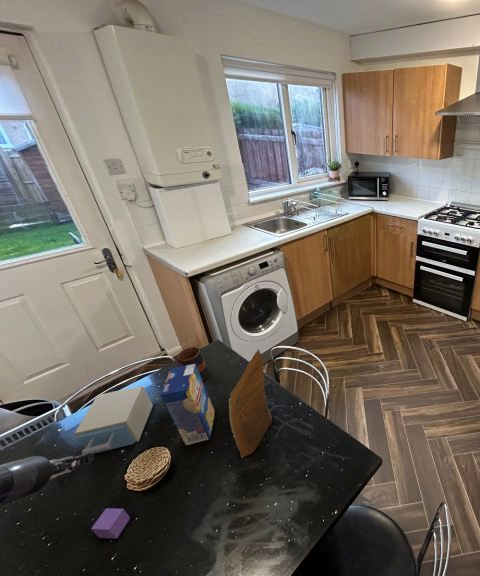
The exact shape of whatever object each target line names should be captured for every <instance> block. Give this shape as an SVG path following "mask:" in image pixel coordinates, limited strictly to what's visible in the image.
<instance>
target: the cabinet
mask: <svg viewBox="0 0 480 576" xmlns="http://www.w3.org/2000/svg"><path fill="white" fill-rule="evenodd" d="M153 406H154V405H153V403H152V401H151V399H150V397H149V396H148V393H147V392H146V390H145V388H144V386H143V385H139V386H135V387H134V386H133V387H130V388H124V389H120V390H115V391H110V392H105V393H101V394H96V397H95V398H94V400H93V402H92V403H91V405H90V407H89V408H88V410H87V412H86V413H85V415H84V416H83V418H82V420H81V422H80V423H79V425H78V426H77V428H76V430H75V432H74V435H75V436H76V437H77V436H78V435H79V434H84V433H86V432H90V431H95V430H99V429H103V428H108V427H112V426H116V425H120V424H125V425H126V427H127V428H128V430H129V431H130V433H131V435H132V436H133V438H134V439H135V442H134V444H136V443H139V441H140V440H141V436H142V434H143V431H144V429H145V426H146V424H147V422H148V419H149V416H150V414H151V411H152V409H153Z"/></svg>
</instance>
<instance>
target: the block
mask: <svg viewBox="0 0 480 576" xmlns="http://www.w3.org/2000/svg"><path fill="white" fill-rule="evenodd" d="M130 519H131V517H130V515H129V514H128V513H127V512H126V510H125V509H124V508H109V507H108V508H105V509H104V510H103V512H102V513H101V514H100V516H99V517H98V519H97V520H96V521H95V522H94V524H93V525H92V526H91V528H90V530H91V531H92V532H93V533H94V534H95V535H96V536H97V538H99V539H118V538H119V536H120V535H121V533H122V532H123V530H124V529H125V527H126V525H128V523H129V521H130Z"/></svg>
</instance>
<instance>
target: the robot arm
mask: <svg viewBox="0 0 480 576" xmlns="http://www.w3.org/2000/svg"><path fill="white" fill-rule="evenodd" d="M94 460H95V453H94V454H93V453H87V454H85V455H83V454H82V453H81V454H80V455H78V456H73V455H70V456H66V457H61V458H54V459H50V460H49V459H48V458H47V457H45V456H42V455H33V456H29V457H28V456H27V457H25V458H21V459H17V460H13V461H10V462H9V461H8V462H5V463H2V464H0V507H1V506H4V505H8V504H10V503H12V502H15V501H18V500H21V499H23V498H26V497H29V496H30V495H33V494H36V493H38V492H39V491H40V490H42V489H43V488H45V486H46V485H47V484H48V482H49V481H50V480H52V479H55V478H57V477H58V476H62V475H64V474H65V475H66V474H68V473H71V472H73V471H75V470H77V469H80V468H81V469H82V468H84V467H86V466H90V465H92V464H93V462H94ZM64 461H66V462H64Z"/></svg>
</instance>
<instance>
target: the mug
mask: <svg viewBox="0 0 480 576" xmlns="http://www.w3.org/2000/svg"><path fill="white" fill-rule="evenodd" d="M176 360H177V363H178V364H177V365H175V366H174V368H176V367H181V366H185V365H190V364H195V363H196V366H197V368H198V371H199V373H200V376H201V378H202V381H203V382H204V380H206V379H207V378H208V377H209V374H210V368H209V365H208V364H207V362H206V361H205V357H204V354H203V351H202V350H201V348H199V347H198V346H191V347H187V348H184V349H182V350H181V351H180V352H179V353H177V356H176Z"/></svg>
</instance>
